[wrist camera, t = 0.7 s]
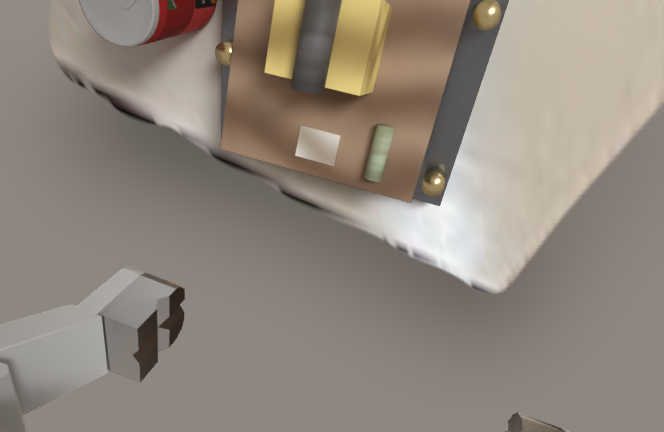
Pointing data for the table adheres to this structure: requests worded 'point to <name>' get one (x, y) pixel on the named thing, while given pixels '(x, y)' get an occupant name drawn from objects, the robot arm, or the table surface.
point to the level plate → (343, 111)
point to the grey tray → (456, 97)
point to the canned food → (145, 19)
